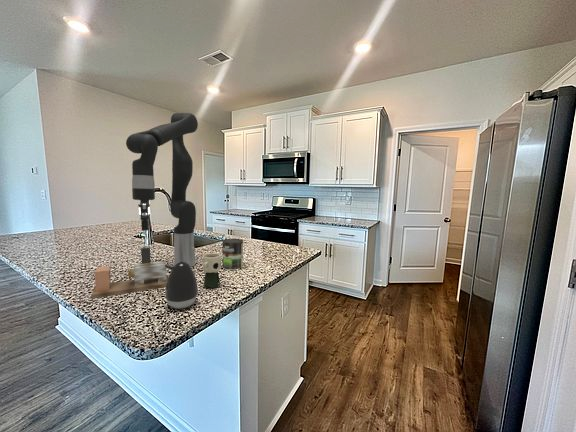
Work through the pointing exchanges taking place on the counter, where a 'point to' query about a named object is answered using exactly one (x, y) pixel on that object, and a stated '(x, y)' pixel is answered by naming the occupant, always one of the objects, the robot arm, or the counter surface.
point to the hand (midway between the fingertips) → (144, 228)
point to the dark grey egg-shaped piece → (181, 286)
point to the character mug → (211, 269)
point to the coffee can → (232, 254)
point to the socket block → (102, 278)
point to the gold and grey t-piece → (145, 260)
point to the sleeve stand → (138, 280)
